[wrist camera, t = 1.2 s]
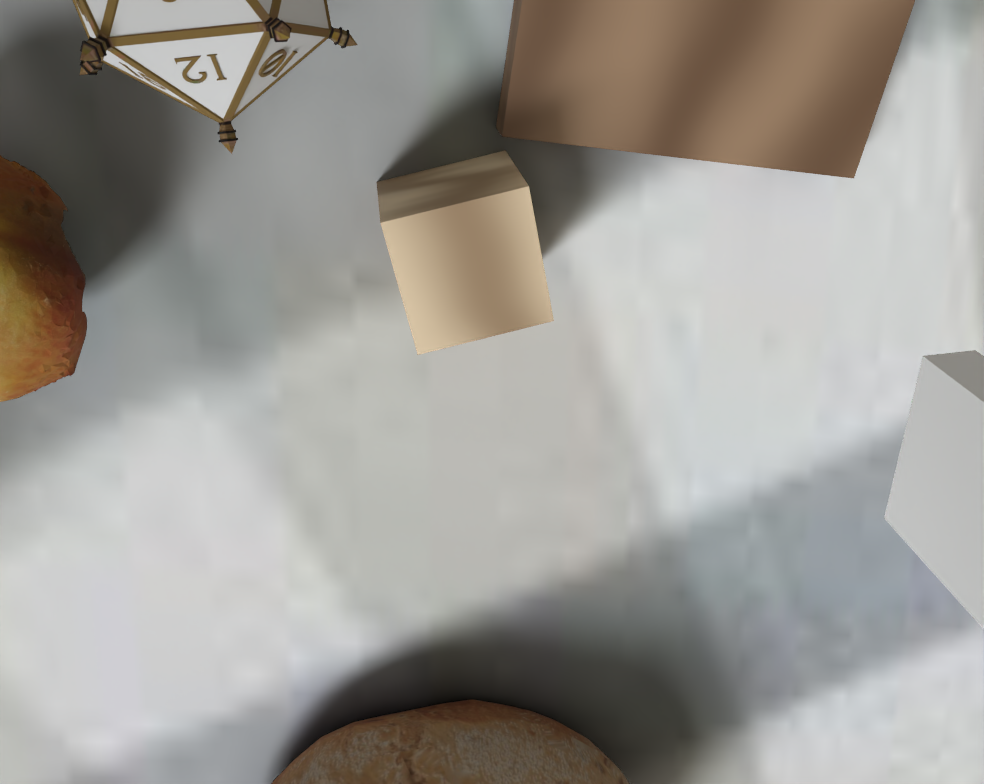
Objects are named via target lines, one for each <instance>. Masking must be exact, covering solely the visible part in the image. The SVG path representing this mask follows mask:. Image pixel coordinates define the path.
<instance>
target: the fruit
mask: <svg viewBox="0 0 984 784" xmlns="http://www.w3.org/2000/svg"><path fill="white" fill-rule="evenodd" d="M63 210H67V208H66V206H65V205H64V203H63V201H62V200H61V198H60V197H59V196H58V195H57V194H56V193H55V192H54V191H53V190H52V189H51V188H50V186H49V185H48V183H47V182H46V181H45V180H43V179H42V178H41V177H40V176H39V175H37V174H36V173H35V172H34V171H33V172H32V171H31V170H28V169H27V168H25V167H23V166H20V164H19V163H17V162H15V161H11V162H10V161H9V160H7V159H5V158H3V157H2V156H1V155H0V402H1V401H7V400H11V399H15V398H19V397H21V396H23V395H25V394H28V393H30V392H33V391H36V390H37V389H39V388H41V387H42V386H46V385H48V384H50V383H52V382H56V381H57V380H58V379H61V378H62V377H66V376H68V375H70V376H71V375H72V374H73V373H74V372H75V368H76V365H77V362H78V358H79V355H80V352H81V349H82V346H83V343H84V340H85V336H86V330H87V318H86V315H85V313H84V312H82V297H83V291H84V288H85V275H84V273H83V272H82V270H81V268H80V266H79V264H78V262H77V261H76V259H75V256H74V255H73V253H72V251H71V248H70V247H69V244H68V242H67V241H66V240H65V235H64V232H63V230H62V227H61V223H62V221H63ZM67 211H68V210H67Z"/></svg>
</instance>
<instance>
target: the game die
mask: <svg viewBox="0 0 984 784" xmlns="http://www.w3.org/2000/svg"><path fill="white" fill-rule="evenodd" d="M73 3H74V5H75V7H76V10H77V12H78V15H79V17H80V20H81V22H82V24H83V27H84V29H85V32H86V34H87V37H88V41H87V42H86V41H82V46H81V50H80V51H81V52H82V54H81V58H80V60H81V63H80V65H81V70H80V75H85V74H89V75H97V71H98V70H102V67H101V66H102V64H103V63H105V64H107V65H109V66H111V67H113V68H114V69H116V70H118V71H120V72H122V73H124V74H126V75H128V76H130V77H132V78H134V79H136V80H138V81H140V82H141V83H143V84H145V85H147V86H149V87H151V88H153V89H155V90H157V91H159V92H161V93H163V94H165V95H167V96H168V97H170V98H172V99H174V100H176V101H178V102H180V103H182V104H184V105H186V106H188V107H190V108H192V109H194V110H195V111H197V112H199V113H201V114H203V115H205V116H207V117H209V118H211V119H213V120H215V121H217V122H219V124H220V131H219V132H218V134H220V140H219V142H221V143H222V144H223V145H224V146H225V147H226V148H227V149H228V150H229V151H230V152H231V154H232V152H233V149H234V146H235V143H236V140H238V138H236V136H235V132H236V130H234V129H233V127H232V125H231V121H232V120H233V119H234V118H235V117H236V116H238V115H239V114H240V113H241V112H242V111H243V110H245V109H246V108H247V107H248V106H249V105H250V104H252V103H253V102H254V101H255V100H256V99H257V98H259V97H260V96H261V95H262V94H263V93H264V92H266V91H267V90H268V89H269V88H270V87H271V86H273V85H274V84H275V83H276V82H277V81H278V80H280V79H281V78H282V77H283V76H284V75H285V74H287V73H288V72H289V71H290V70H291V69H293V68H294V67H295V66H296V65H297V64H298V63H300V62H301V61H302V60H303V59H304V58H305V57H307V56H308V55H309V54H310V53H311V52H312V51H314V50H315V49H316V48H317V47H318V46H319V45H321V44H322V43H323V42H324V41H325V40H326V39H328V38H329V39H331V40H332V41H333V42H334V44H335V45H337V44H338V45H340V46H341V48H345V47H346V46H353V45H357V43H356V42H355V41H354V39H353V38H352V36H351V35H350V34H349V30H347V31H344V30H342V28H341V27H340V28H339V29H337V28H333V27H332V26H331V22H330V16H329V11H328V5H327V0H73Z"/></svg>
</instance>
